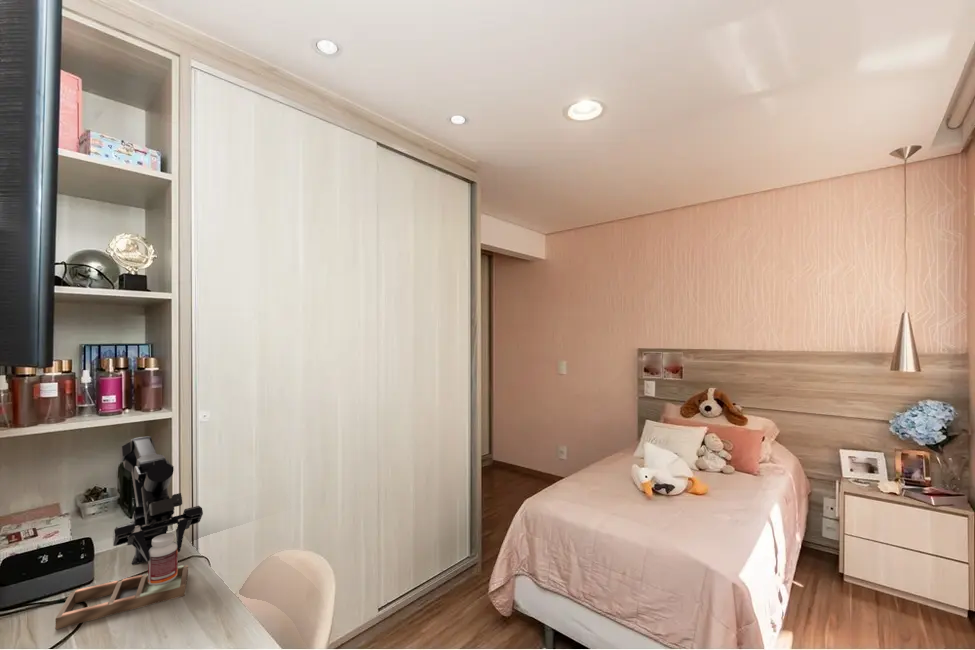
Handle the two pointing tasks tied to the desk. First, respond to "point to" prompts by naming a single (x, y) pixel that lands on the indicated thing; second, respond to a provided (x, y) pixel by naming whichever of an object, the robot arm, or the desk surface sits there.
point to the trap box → (120, 597)
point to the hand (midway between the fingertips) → (164, 555)
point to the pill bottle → (162, 560)
